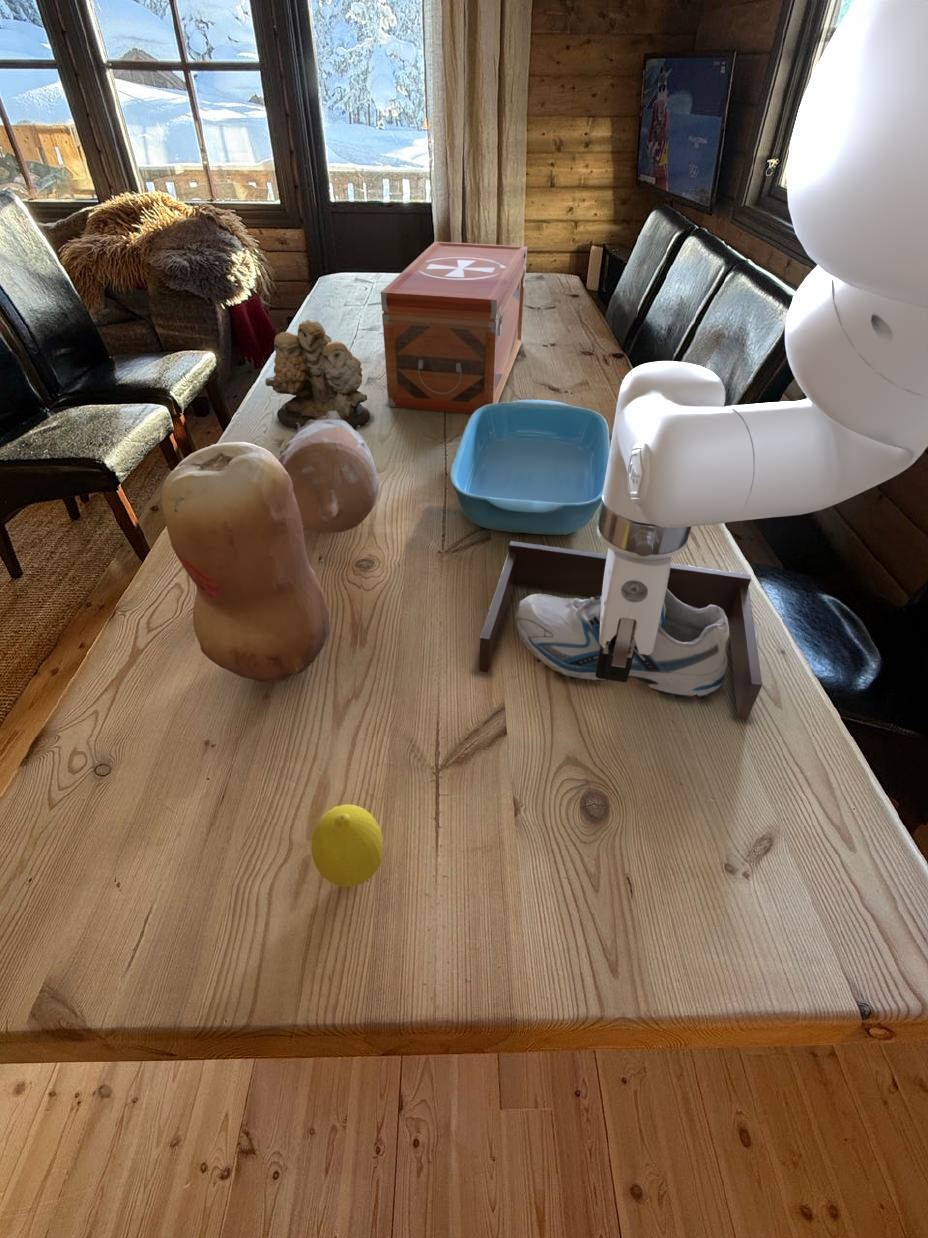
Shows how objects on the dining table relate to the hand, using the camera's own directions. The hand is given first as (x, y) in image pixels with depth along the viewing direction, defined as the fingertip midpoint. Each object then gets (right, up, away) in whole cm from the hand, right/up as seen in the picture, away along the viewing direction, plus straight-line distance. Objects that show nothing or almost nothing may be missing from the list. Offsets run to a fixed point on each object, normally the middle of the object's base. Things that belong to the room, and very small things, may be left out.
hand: (611, 674), depth 67 cm
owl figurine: (-41, +42, +54) cm, 79 cm away
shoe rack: (+2, +3, +8) cm, 9 cm away
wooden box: (-15, +57, +72) cm, 93 cm away
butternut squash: (-36, +1, +6) cm, 36 cm away
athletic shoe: (+2, +1, +7) cm, 7 cm away
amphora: (-34, +22, +31) cm, 51 cm away
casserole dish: (-5, +26, +35) cm, 44 cm away
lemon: (-24, -15, -12) cm, 31 cm away
